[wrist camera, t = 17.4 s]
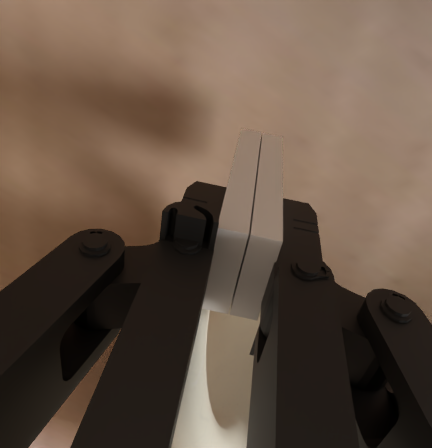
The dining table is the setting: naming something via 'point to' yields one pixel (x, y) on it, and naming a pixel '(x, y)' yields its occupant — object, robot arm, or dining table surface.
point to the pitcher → (218, 384)
